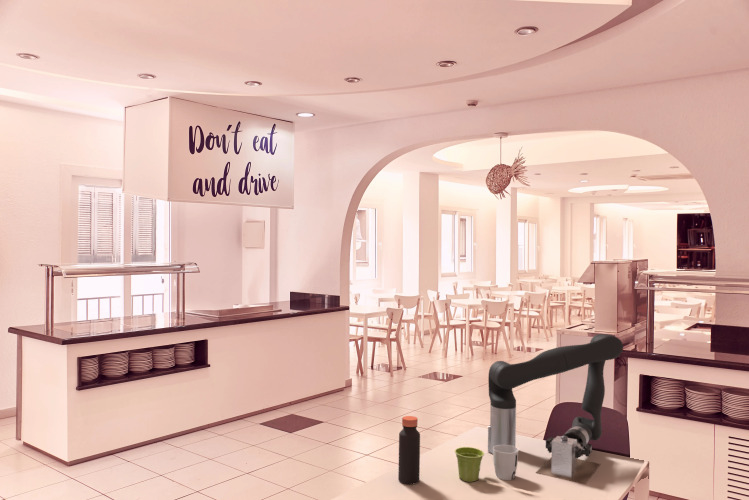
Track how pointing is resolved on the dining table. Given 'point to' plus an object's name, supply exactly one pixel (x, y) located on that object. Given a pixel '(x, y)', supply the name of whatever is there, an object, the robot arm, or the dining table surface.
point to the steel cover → (564, 456)
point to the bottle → (409, 451)
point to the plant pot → (469, 463)
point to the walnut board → (582, 471)
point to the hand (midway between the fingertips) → (562, 452)
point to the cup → (505, 461)
